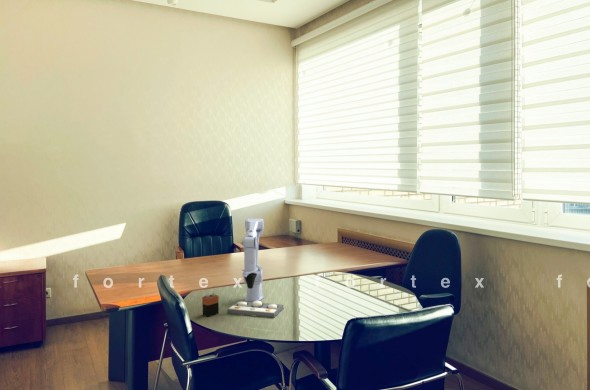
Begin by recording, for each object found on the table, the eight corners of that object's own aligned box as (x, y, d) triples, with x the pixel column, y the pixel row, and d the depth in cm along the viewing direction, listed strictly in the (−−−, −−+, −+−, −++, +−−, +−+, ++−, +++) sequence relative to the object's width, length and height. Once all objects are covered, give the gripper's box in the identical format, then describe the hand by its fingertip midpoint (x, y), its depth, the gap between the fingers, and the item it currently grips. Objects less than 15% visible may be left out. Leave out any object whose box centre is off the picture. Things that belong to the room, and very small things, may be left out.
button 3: (269, 308, 238) (269, 303, 237) (278, 309, 236) (278, 304, 236) (266, 311, 233) (266, 306, 233) (275, 312, 232) (275, 307, 232)
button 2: (254, 305, 240) (254, 300, 240) (263, 306, 239) (263, 301, 238) (251, 307, 236) (251, 303, 235) (259, 308, 234) (259, 303, 234)
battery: (202, 315, 229) (201, 294, 229) (213, 312, 234) (213, 291, 233) (207, 317, 226) (207, 296, 226) (219, 314, 231) (218, 293, 230)
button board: (239, 304, 245) (238, 300, 245) (283, 308, 239) (283, 304, 238) (227, 313, 232) (227, 308, 232) (274, 317, 225) (274, 312, 225)
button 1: (240, 306, 242) (240, 301, 242) (248, 306, 241) (248, 302, 241) (236, 308, 238) (236, 303, 238) (244, 309, 237) (244, 304, 237)
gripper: (248, 258, 246) (248, 284, 247) (236, 263, 232) (236, 291, 233) (261, 258, 244) (261, 285, 244) (249, 264, 230) (250, 292, 231)
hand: (250, 288), depth 238 cm, fingers closed
